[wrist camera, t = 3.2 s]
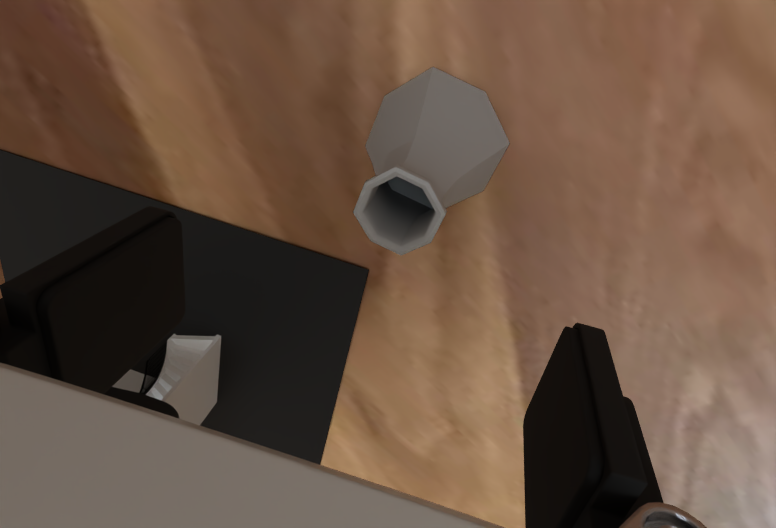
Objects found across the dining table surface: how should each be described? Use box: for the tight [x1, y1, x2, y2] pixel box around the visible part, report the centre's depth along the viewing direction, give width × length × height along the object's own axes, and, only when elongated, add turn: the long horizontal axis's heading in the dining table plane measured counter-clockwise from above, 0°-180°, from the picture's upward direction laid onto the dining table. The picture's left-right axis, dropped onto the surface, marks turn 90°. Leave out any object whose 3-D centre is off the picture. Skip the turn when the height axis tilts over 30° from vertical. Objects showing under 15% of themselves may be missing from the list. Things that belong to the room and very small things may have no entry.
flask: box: [353, 67, 510, 255], centre depth 21 cm, size 7×7×10 cm
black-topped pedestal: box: [0, 150, 369, 465], centre depth 32 cm, size 28×26×13 cm
